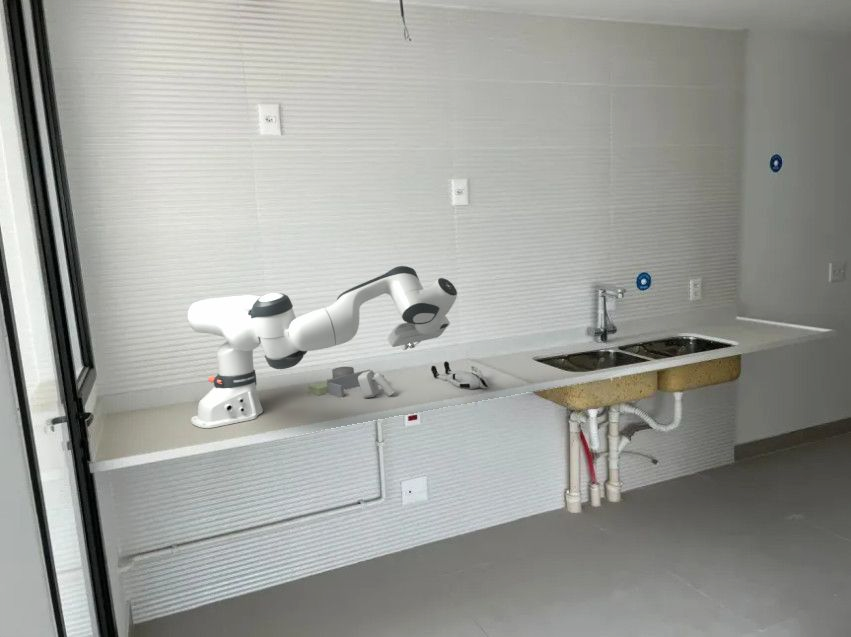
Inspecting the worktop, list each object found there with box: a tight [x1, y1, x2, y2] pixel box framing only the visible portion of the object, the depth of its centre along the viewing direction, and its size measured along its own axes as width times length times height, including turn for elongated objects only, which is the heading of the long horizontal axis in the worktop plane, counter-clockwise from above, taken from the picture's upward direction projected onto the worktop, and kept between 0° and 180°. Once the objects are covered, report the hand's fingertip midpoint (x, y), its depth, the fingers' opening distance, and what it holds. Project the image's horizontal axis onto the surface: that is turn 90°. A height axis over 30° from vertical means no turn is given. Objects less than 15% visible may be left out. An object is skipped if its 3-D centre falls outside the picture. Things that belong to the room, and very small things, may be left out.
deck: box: [308, 366, 385, 398], centre depth 230 cm, size 26×16×6 cm, turn 131°
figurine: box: [430, 361, 490, 390], centre depth 228 cm, size 13×6×30 cm
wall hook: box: [358, 369, 396, 399], centre depth 217 cm, size 8×10×10 cm
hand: (407, 347), depth 202 cm, fingers closed
